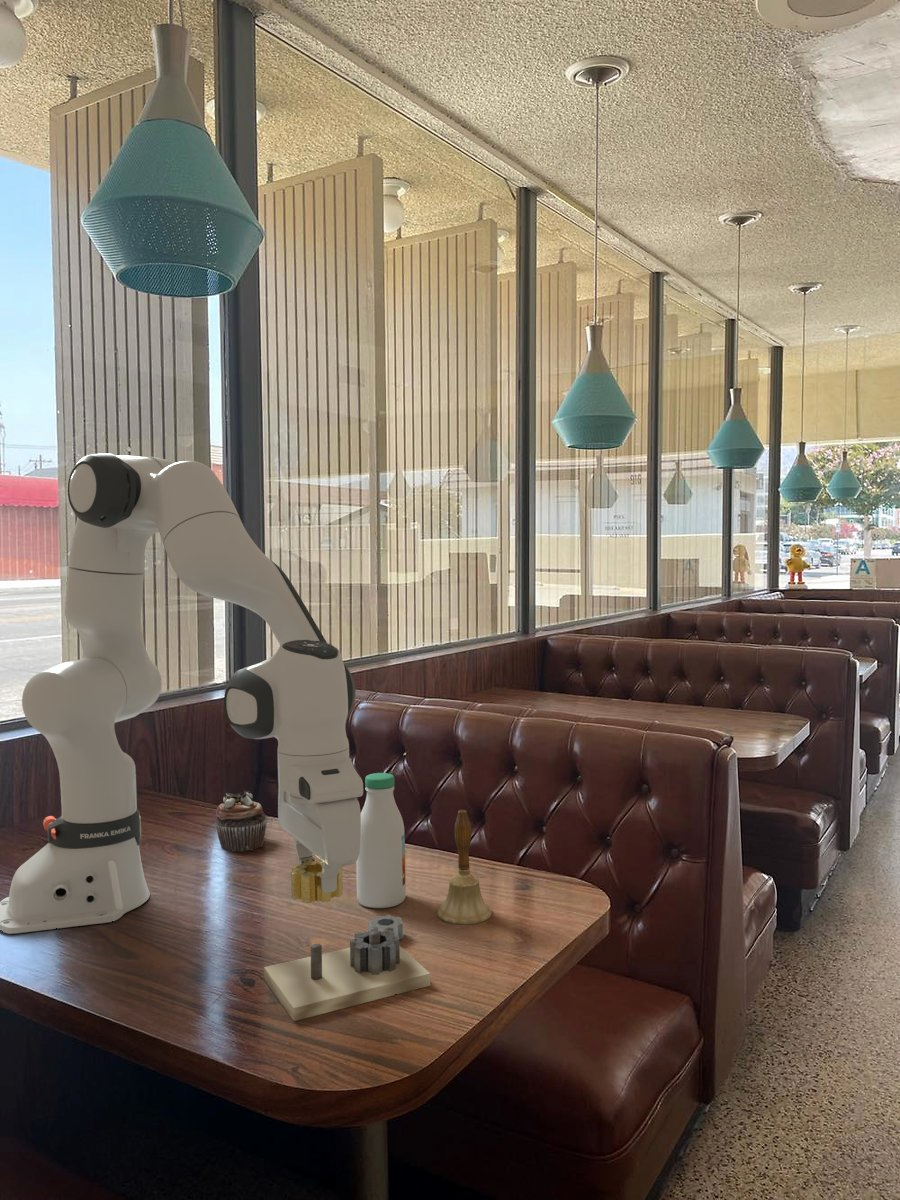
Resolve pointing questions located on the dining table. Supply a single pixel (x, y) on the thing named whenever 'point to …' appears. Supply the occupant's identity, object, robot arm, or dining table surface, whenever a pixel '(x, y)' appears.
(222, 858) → the dining table surface
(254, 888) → the dining table surface
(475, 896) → the hand bell
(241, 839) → the cupcake
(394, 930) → the zinc gear
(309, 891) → the brass gear
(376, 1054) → the dining table surface
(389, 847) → the milk bottle
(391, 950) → the steel gear
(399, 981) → the gear board
